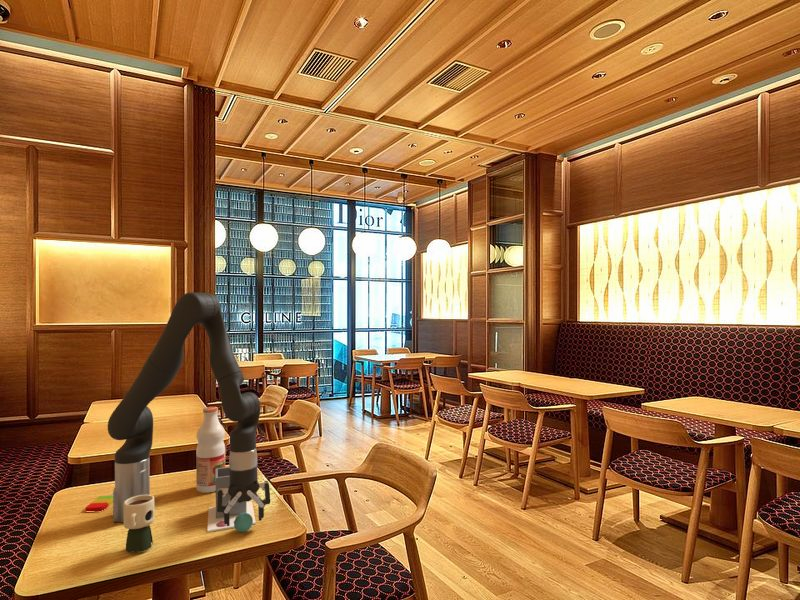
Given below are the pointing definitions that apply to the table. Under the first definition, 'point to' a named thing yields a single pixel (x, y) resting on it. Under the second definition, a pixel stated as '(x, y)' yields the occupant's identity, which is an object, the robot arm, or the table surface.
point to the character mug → (139, 522)
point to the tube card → (218, 517)
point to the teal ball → (243, 522)
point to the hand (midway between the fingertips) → (244, 522)
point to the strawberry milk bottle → (209, 451)
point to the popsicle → (100, 503)
